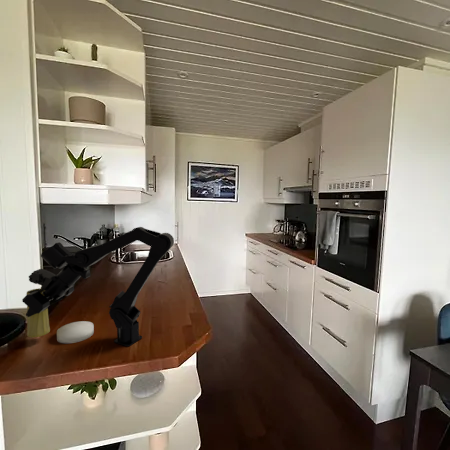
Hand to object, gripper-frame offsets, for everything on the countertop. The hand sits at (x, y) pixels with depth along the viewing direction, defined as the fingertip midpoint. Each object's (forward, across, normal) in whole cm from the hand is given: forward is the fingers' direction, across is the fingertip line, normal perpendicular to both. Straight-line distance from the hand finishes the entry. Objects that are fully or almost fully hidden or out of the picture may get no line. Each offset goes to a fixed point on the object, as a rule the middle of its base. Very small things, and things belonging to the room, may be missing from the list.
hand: (33, 312), depth 86 cm
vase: (+4, 0, +6) cm, 7 cm away
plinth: (-1, -4, +15) cm, 15 cm away
